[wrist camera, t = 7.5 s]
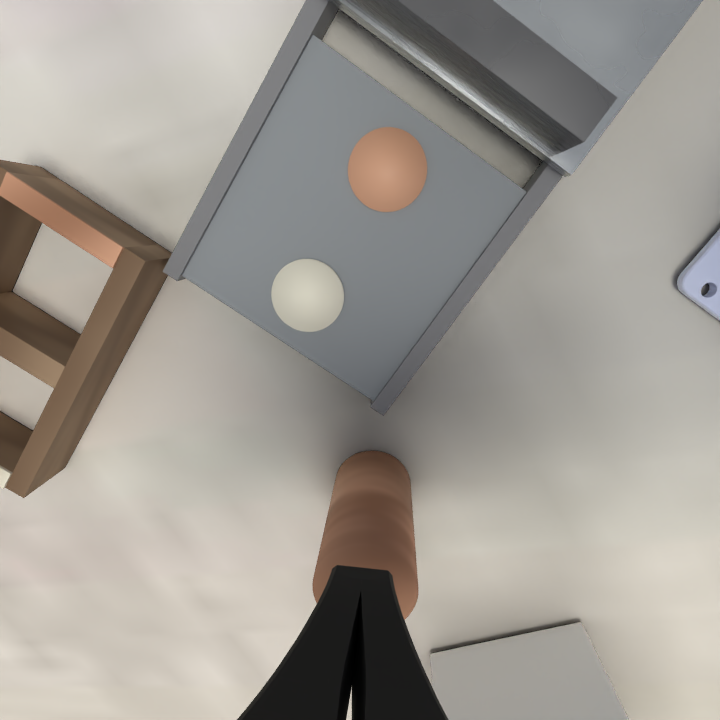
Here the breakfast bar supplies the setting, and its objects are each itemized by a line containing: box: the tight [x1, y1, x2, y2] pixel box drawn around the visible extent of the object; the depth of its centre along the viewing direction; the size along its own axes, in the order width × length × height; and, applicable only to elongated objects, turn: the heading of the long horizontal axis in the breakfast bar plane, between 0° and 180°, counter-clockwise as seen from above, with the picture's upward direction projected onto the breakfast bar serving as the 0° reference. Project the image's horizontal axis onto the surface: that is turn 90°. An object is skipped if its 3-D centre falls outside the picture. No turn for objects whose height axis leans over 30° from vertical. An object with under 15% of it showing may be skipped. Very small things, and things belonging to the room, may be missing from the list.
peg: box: [313, 451, 418, 620], centre depth 17 cm, size 3×3×6 cm
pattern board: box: [162, 0, 562, 416], centre depth 15 cm, size 10×22×1 cm, turn 146°
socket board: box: [0, 160, 172, 498], centre depth 18 cm, size 6×11×2 cm, turn 146°
